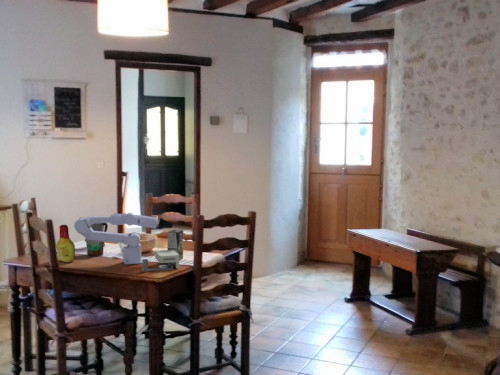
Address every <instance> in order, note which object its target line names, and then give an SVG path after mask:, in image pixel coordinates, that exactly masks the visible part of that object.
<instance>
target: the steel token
mask: <svg viewBox="0 0 500 375" xmlns="http://www.w3.org/2000/svg"><path fill="white" fill-rule="evenodd" d="M159 268H170V267H169V266H168V264H160V265H158V269H159Z"/></svg>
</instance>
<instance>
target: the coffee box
mask: <svg viewBox="0 0 500 375" xmlns="http://www.w3.org/2000/svg"><path fill="white" fill-rule="evenodd" d="M167 250H174V251H175V252H176V253H177V254H178V255H179V262H180V261H182V260H183V259H184V230H183V229H172V230H170V231H167Z"/></svg>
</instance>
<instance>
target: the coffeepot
mask: <svg viewBox="0 0 500 375" xmlns="http://www.w3.org/2000/svg"><path fill="white" fill-rule="evenodd" d="M91 228H92V229H93V230H94V231H101V232H108V224H107V223H94V224H92V225H91ZM104 247H106V244H105V242H104Z"/></svg>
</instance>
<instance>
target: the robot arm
mask: <svg viewBox="0 0 500 375" xmlns="http://www.w3.org/2000/svg"><path fill="white" fill-rule="evenodd" d="M158 217H159V215H156V216H149V215H140V214H134V213H132V212H128V213H126V212H124V213H117V212H114V213H112V214H110V216H100V215H98V216H96V215H95V216H94V215H93V216H91V215H90V216H82V217H79V218H78V219H77V220H76V221H75V222H74V224H73V226H74V230H75V231H76V233H78V234H79V235H81V236H82V237H84V239H85V238H87V239H89V240H98V241H105V242H111V243H119V244H124V245H127V246H123V247H122V248H123V253H122V254H123V255H122V256H123V257H122V261H123V263H124V265H134V264H137V265H138V264H143V259H142V244H141V243H140V242H141V240H142V238H141V235H140V233H138V232H137V231H136V232H135V231H134V232H131V233H130V232H129V233H119V232H111V231H109V232H108V231H106V232H101V231H94V230H93V229H92V228H91V225H92V224H94V223H108V224H111V226H115V225H116V226H120V225H121V226H122V225H123V226H124V225H127V226H129V227H130V226H138V227H142V228H144V227H145V228H151V229H155V230H156V229H157V227H158V230H162V229H171V228H173V224H174V223H173V221H172V222H171V221H168V220H166V219H164V218H162V217H159V220H158Z"/></svg>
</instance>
